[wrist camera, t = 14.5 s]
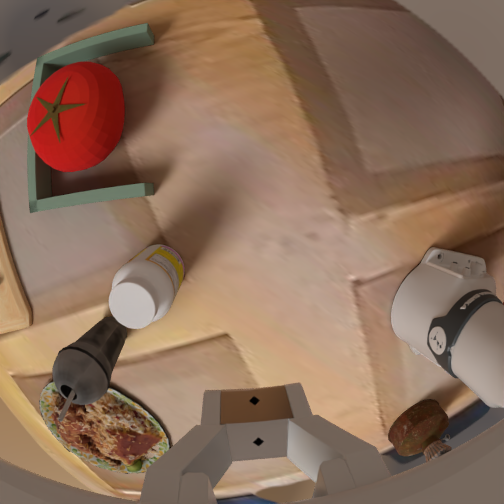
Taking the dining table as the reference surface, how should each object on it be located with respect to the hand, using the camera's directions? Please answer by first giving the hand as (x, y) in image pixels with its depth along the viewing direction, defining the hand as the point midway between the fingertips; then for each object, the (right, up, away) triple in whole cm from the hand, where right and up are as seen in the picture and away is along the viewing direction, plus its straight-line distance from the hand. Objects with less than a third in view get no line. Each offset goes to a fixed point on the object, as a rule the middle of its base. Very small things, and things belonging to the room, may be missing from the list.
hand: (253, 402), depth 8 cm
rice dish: (-29, -30, +35) cm, 54 cm away
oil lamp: (+36, -33, +40) cm, 63 cm away
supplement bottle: (-12, +3, +29) cm, 31 cm away
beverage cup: (-20, -7, +30) cm, 37 cm away
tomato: (-21, +22, +24) cm, 39 cm away
